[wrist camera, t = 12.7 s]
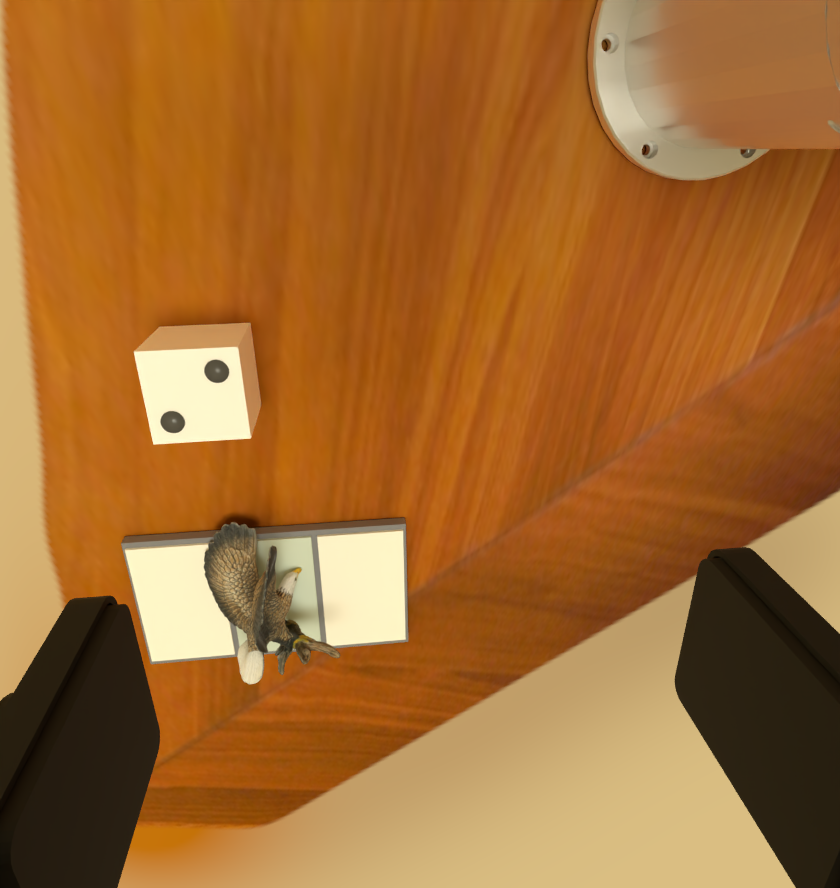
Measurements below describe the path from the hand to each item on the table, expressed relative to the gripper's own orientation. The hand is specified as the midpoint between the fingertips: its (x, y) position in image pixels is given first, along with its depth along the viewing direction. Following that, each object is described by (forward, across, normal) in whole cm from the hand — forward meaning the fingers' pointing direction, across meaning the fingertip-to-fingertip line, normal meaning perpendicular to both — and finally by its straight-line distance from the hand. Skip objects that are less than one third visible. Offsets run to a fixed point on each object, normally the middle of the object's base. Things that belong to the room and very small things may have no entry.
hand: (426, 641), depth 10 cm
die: (+28, +9, +4) cm, 30 cm away
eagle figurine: (+28, +7, +18) cm, 34 cm away
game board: (+28, +7, +20) cm, 35 cm away
